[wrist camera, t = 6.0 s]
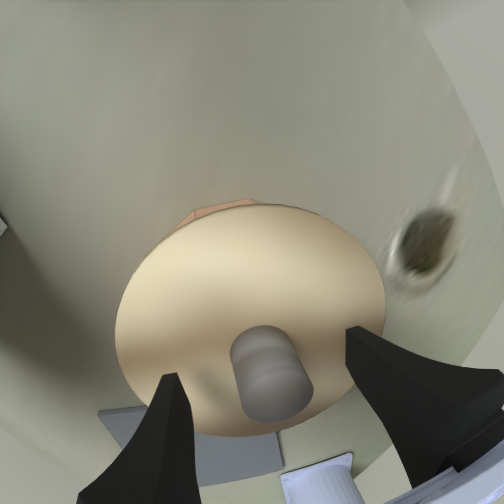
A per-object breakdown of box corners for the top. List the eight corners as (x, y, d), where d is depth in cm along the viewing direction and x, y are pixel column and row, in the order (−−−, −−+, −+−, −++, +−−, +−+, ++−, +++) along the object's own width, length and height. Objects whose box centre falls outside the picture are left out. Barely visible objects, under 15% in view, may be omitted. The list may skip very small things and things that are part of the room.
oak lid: (367, 393, 18) (397, 436, 14) (164, 441, 16) (166, 495, 13) (380, 184, 13) (439, 204, 10) (80, 237, 12) (42, 277, 8)
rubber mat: (282, 465, 27) (283, 469, 26) (157, 487, 25) (158, 491, 24) (265, 381, 22) (266, 386, 21) (99, 411, 20) (97, 415, 20)
